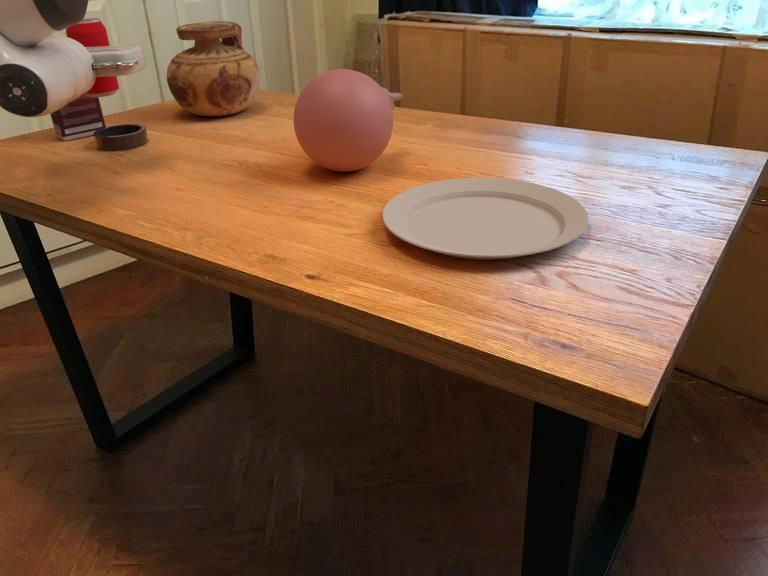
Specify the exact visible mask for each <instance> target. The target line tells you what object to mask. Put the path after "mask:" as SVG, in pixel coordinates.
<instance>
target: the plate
mask: <svg viewBox="0 0 768 576" xmlns="http://www.w3.org/2000/svg"><path fill="white" fill-rule="evenodd" d="M589 220H590V219H589V216H588V212H587V210H586V209H585V207H584V206H583V205H582V203H580V202H579V201H578V200H576V199H575V198H573V196H570V195H569V194H568V193H567V194H566V193H565V192H563V191H560V190H558V189H555V188H552V187H549V186H546V185H542V184H538V183H534V182H529V181H524V180H518V179H511V178H510V179H509V178H500V177H499V178H497V177H463V178H460V177H459V178H450V179H442V180H438V181H431V182H429V183H424V184H421V185H417V186H413V187H411V188H409V189H406V190H403V191H402V192H400V193H399V194H396V195H395V196H393V197H392V198H391V199H390V200H388V202H387V203H386V204H385V206H384V208H383V211H382V222H383V224H384V226H385V227H386V228H387V230H388V231H389V232H390V233H392V234H393V235H394V236H395V237H397V238H398V239H400V240H402V241H404V242H406V243H408V244H410V245H413V246H416V247H418V248H422V249H425V250H428V251H432V252H435V253H437V254H441V255H445V256H448V257H452V258H460V259H465V260H466V259H468V260H478V261H480V260H481V261H482V260H483V261H496V260H497V261H498V260H509V259H516V258H522V257H526V256H530V255H534V254H539V253H544V252H548V251H552V250H554V249H557V248H561V247H562V246H566V245H567V244H570V243H571V242H573V241H575V240H576V239H578V238H579V237H580V236H581V235H583V234H584V232H586V229H587V227H588V225H589Z"/></svg>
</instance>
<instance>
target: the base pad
mask: <svg viewBox="0 0 768 576" xmlns="http://www.w3.org/2000/svg"><path fill="white" fill-rule="evenodd" d="M92 136H93V139H94V143H95V146H96V148H97V149H98V150H100V151H106V152H114V151H115V152H116V151H118V152H119V151H127V150H131V149H136V148H139V147H141V146H144V145H146V144H147V143H148V142H149V137H148V132H147V126H146V125H144V124H140V123H120V124H119V123H118V124H113V125H107V126H106V127H104V128H101V129H98V130H96V131H95V132H94V134H93V135H92Z"/></svg>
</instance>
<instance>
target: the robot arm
mask: <svg viewBox="0 0 768 576" xmlns="http://www.w3.org/2000/svg"><path fill="white" fill-rule="evenodd" d="M88 5H89V0H0V108H2V110H5V111H6V112H8V113H9V114H12V115H15V116H18V117H22V118H40V117H45V116H48V115H50V114H51V113H53V112H55V111H57V110H59V109H61V108H62V107H64V106H66V105H67V104H68V103H69V102H71V101H73V100H75V99H77V98H78V97H80V96H81V95H83V94H85V93H86V92H88V91H89V90H90V89H91V88H92V86H93V84H94V82H95V79H96V77H104V76H117V77H123V76H129V75H133V74H136V73H138V72H141V71H143V70H144V69H146V67H147V62H146V56H145V52H144V48H143V47H142V46H141V45H137V44H130V45H129V44H128V45H127V44H126V45H110V46H100V47H84V46H83V45H82V44H80V43H79V42H77V41H76V40H73V39H71V38H68V37H67V36H63V35H62V36H52V35H54V34H57V32H62V31H63V30H66V28H68V27H70V26H72V25H74V24H76V23H78V22H81V21H82V20H83V19H84V18H86V14H87V11H88ZM50 36H51V37H50Z"/></svg>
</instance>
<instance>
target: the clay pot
mask: <svg viewBox="0 0 768 576" xmlns="http://www.w3.org/2000/svg"><path fill="white" fill-rule="evenodd" d="M175 31H176V35H177V37H178V39H179V40H182V41H194V44H193V45H194V46H192V47H189V48H187V49H184V50H182V51H181V52H179V53H177V54H176V55H175V56H173V58H171V60H170V62H169V64H168V66H167V70H166V82H167V86H168V89H169V90H170V93H171V95H172V97H173V98H174V100H175V101H176V102H177V104H178V105H179V106H180V107H181V108H182V109H183V110H185V111H187V112H188V113H190V114H193V115H196V116H201V117H207V118H219V117H226V116H231V115H235V114H238V113H240V112H242V111H244V110H245V109H247V108H248V107H250V106H251V104H252V103H253V101H254V100H255V99H256V96H257V93H258V89H259V85H260V77H261V76H260V75H261V73H260V67H259V64H258V63H257V61H256V59H255V58H254V57H253V56H252V55H251V54H250V53H248V52H247V51H246V50H245V49H244V47H243V39H242V36H243V35H242V31H243V30H242V27H241V25H240V24H239V23H237V22H233V21H227V20H221V21H219V20H218V21H217V20H213V21H211V20H210V21H209V20H208V21H202V22H193V23H187V24H183V25H180V26H177V28H176V29H175Z"/></svg>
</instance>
